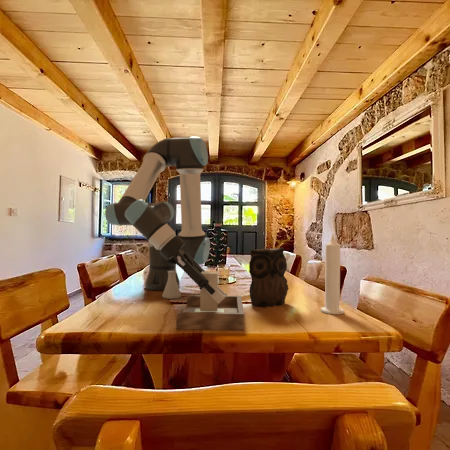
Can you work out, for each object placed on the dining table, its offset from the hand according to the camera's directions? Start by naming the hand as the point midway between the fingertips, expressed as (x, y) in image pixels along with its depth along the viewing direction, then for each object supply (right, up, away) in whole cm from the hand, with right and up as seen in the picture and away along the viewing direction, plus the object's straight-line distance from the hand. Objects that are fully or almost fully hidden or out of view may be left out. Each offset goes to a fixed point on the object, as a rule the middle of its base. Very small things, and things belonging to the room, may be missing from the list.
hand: (221, 298), depth 94 cm
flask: (-20, -6, +26) cm, 33 cm away
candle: (+36, -6, +8) cm, 37 cm away
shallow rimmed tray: (-3, -6, 0) cm, 6 cm away
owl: (+16, -6, +19) cm, 26 cm away
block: (-4, -3, 0) cm, 5 cm away
